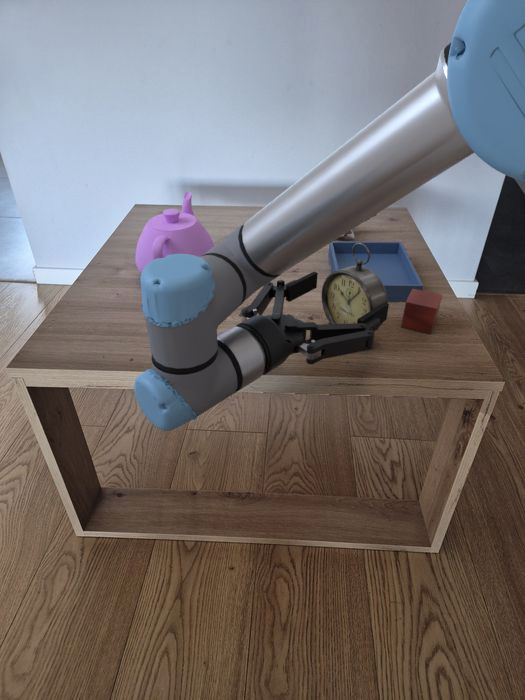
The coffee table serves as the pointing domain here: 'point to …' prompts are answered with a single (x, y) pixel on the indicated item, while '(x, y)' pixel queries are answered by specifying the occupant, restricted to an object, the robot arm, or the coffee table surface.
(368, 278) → the alarm clock
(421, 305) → the red block
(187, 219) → the teapot
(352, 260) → the blue tray
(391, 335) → the coffee table surface
